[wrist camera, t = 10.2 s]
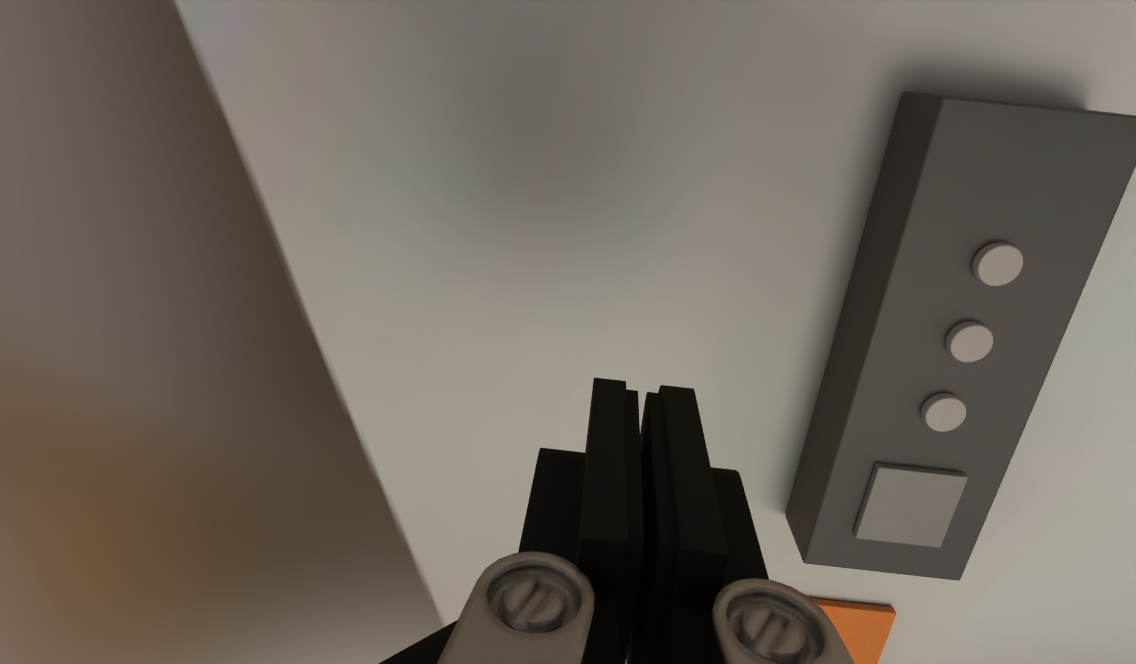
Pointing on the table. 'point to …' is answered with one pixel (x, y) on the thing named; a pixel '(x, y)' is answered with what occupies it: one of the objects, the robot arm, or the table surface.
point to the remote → (952, 324)
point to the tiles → (860, 627)
